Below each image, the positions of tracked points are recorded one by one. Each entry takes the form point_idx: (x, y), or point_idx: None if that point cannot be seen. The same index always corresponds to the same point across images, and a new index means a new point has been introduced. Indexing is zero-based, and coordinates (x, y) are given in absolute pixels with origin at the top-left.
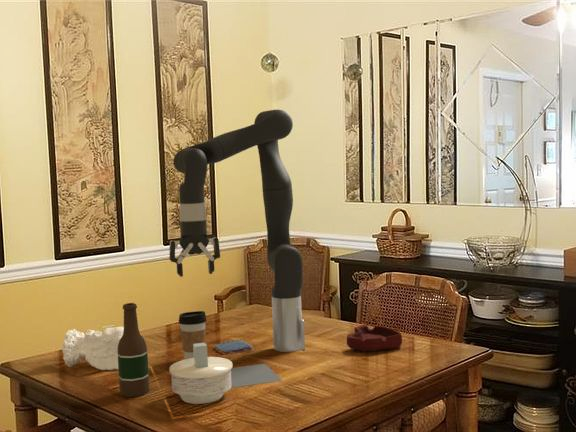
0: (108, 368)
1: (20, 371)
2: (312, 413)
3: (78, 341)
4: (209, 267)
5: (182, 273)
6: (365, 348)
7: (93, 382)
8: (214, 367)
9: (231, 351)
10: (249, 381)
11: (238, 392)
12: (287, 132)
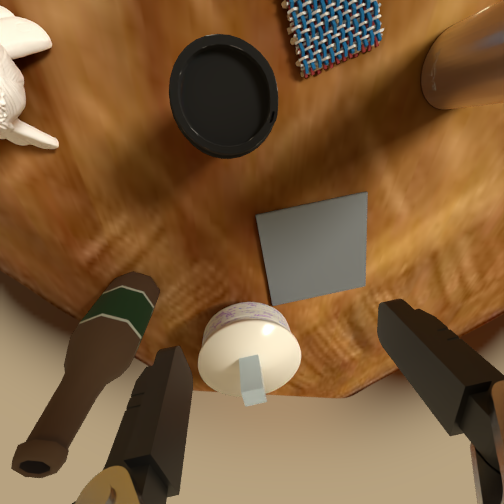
0: (15, 143)
1: None
2: (361, 374)
3: None
4: (408, 369)
5: (188, 401)
6: None
7: (27, 224)
8: (271, 371)
9: (319, 65)
10: (318, 281)
11: (295, 310)
12: None
